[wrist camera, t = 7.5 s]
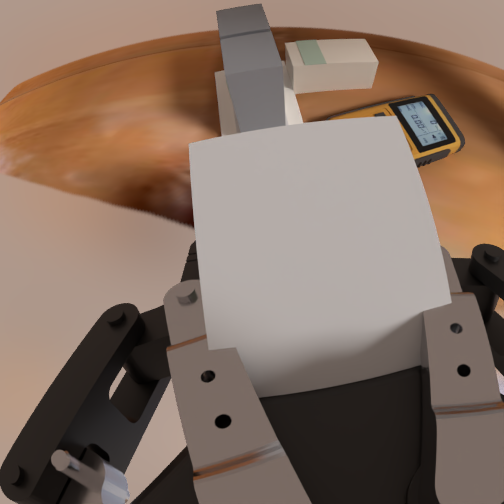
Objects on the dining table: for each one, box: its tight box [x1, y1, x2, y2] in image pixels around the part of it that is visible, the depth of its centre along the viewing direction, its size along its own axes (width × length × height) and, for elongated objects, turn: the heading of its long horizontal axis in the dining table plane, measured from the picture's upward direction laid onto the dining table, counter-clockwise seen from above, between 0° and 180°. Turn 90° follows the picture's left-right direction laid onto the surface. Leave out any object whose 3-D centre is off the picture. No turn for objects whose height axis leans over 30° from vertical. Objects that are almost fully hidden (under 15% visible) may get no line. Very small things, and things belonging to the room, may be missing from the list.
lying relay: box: [285, 39, 379, 94], centre depth 31 cm, size 10×5×5 cm, turn 98°
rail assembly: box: [215, 4, 303, 136], centre depth 27 cm, size 9×24×12 cm, turn 8°
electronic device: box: [326, 94, 465, 168], centre depth 30 cm, size 8×16×3 cm, turn 110°
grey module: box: [189, 116, 452, 398], centre depth 10 cm, size 5×5×10 cm
